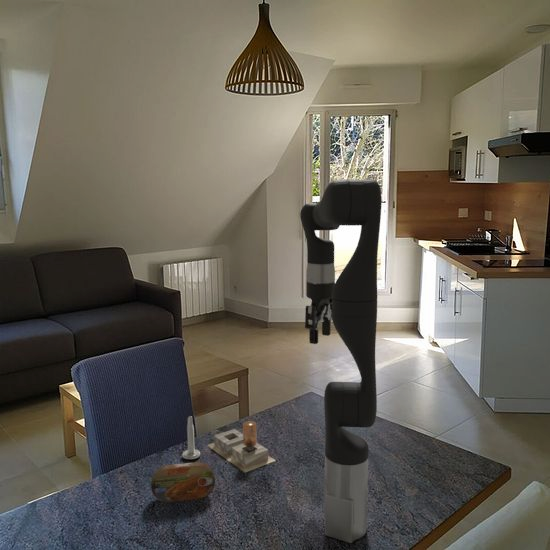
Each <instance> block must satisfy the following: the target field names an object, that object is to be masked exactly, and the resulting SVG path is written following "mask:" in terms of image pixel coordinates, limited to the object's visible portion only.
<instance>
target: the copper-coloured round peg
mask: <svg viewBox="0 0 550 550" xmlns="http://www.w3.org/2000/svg"><path fill="white" fill-rule="evenodd" d="M257 425H258V424H257V422H255V421H254V420H248V421H244V422H243V424H242V434H243V444H244V445H245V446H246V451H247V452H248V453H249V452H251V451H254V446H255V445H256V444H257V443H258V439H257V434H258V433H257V428H258V427H257Z"/></svg>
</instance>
